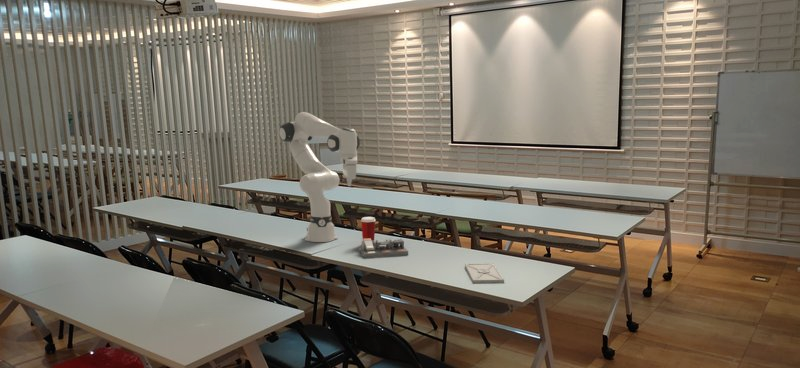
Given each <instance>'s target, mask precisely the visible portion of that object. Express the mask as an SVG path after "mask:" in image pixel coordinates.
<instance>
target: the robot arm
mask: <svg viewBox="0 0 800 368" xmlns="http://www.w3.org/2000/svg"><path fill="white" fill-rule="evenodd" d="M278 134H279V138H280V139H281V140H282V142H284V143H290V144H289V150H290V153H291V155H292V157H293V159H294V160H295V162H296V164H297V166H298V167H299V169H300V170H301V172H303V173H304V174H305V175H303V176H301V177H300V180H299V188H300V189H301V190H302V192H303V193H304V194H305V195H306V196H307V197H308V200H309V203H310V204H309V205H310V218H309V219H310V220H309V221H310V223H309V225H308V226H307V227H306V232H307V233H306V236H305V238H304V241H305V242H313V243H328V242H331V241H333V240H338V236H337V235H335V224H334V223H333V222H332V218H333V217H332V214H331V202H330V199H328V198H326V197H325V195H324V192H325V191H330V190H331V191H332V190H334V189H336V188H337V187H338V186H339V185H340V181H341V180H340V176H339V175H338V173H337V172H336V171H334V170H331V169H329V168H328V167H326V166H325V165H324V164H323V163H322V162H321V161H320V160H319V159H318V158H317V156H316V154H315V152H313V150H312V148H311V147H310V145H309V143H308V141H311V140H312V139H313V138H327V141H326V143H327V145H326V146H327V148H328V149H329V151H331V152H332V153H339V161H340V164H342V175H343V176H344V177H345V178H346V184H347V186H348V187H352V183H353V180H355V179H356V177H357V165H358V162H359V161H358V149H359V147H360V146H361V145H360V144H361V139H360V137H359V135H358V134H357V132H356V130H355V129H354V128H352V127H342V128H340V127H338V126H336V125H333V124H331V123H328V122H327V121H325V120H323V119H321V118H319V117H318V116H315V115H314V114H311V113H310V112H306V111H302V112H299V113H297V114H296V116H295V118H294V121H291V122H290V121H289V122H285V123H283V124H281V125H280V126H279V129H278Z"/></svg>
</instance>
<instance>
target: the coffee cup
mask: <svg viewBox="0 0 800 368" xmlns="http://www.w3.org/2000/svg"><path fill="white" fill-rule="evenodd" d="M376 221H377V220H376V218H375V217H373V216H364V217H362V218H361V220H360V222H361V234H362V241H363V239H368V238H371V240H374V241H375V234H376V233H375V232H376V231H375V230H376ZM363 242H364V241H363Z"/></svg>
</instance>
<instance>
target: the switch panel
mask: <svg viewBox="0 0 800 368" xmlns="http://www.w3.org/2000/svg"><path fill="white" fill-rule="evenodd" d="M385 241H388V243H389V244H386V245H379V241H378V240H377V239H376V240H375V239H374V240H372V243H373V246H374V250H366V247H365V243H364V242H363V240H362V241H361V247H359V252H360V254H361V255H362V257H363V258H364V259H367V258H368V259H369V258H370V259H371V258H384V257H397V256H400V257H401V256H408V255H409V250H408V249H407V248H406V247H405V241H404V240H403V239H402V243H400V244H399V245H394V242H393V241H394V240H392V239H391V238H389V240H388V239H385Z"/></svg>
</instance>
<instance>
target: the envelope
mask: <svg viewBox="0 0 800 368" xmlns="http://www.w3.org/2000/svg"><path fill="white" fill-rule="evenodd" d="M464 268H465V271H466V272H467V274H468V276H469V278H470V280H471V282H472V283H473V284H482V283H481V282H502V283H505V279H504V277H503V275H502V274H501V272H500V271H499V269H498V268H497V267H496V265H495V264H494V263H493V262H488V263H482V262H481V263H464Z"/></svg>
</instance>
